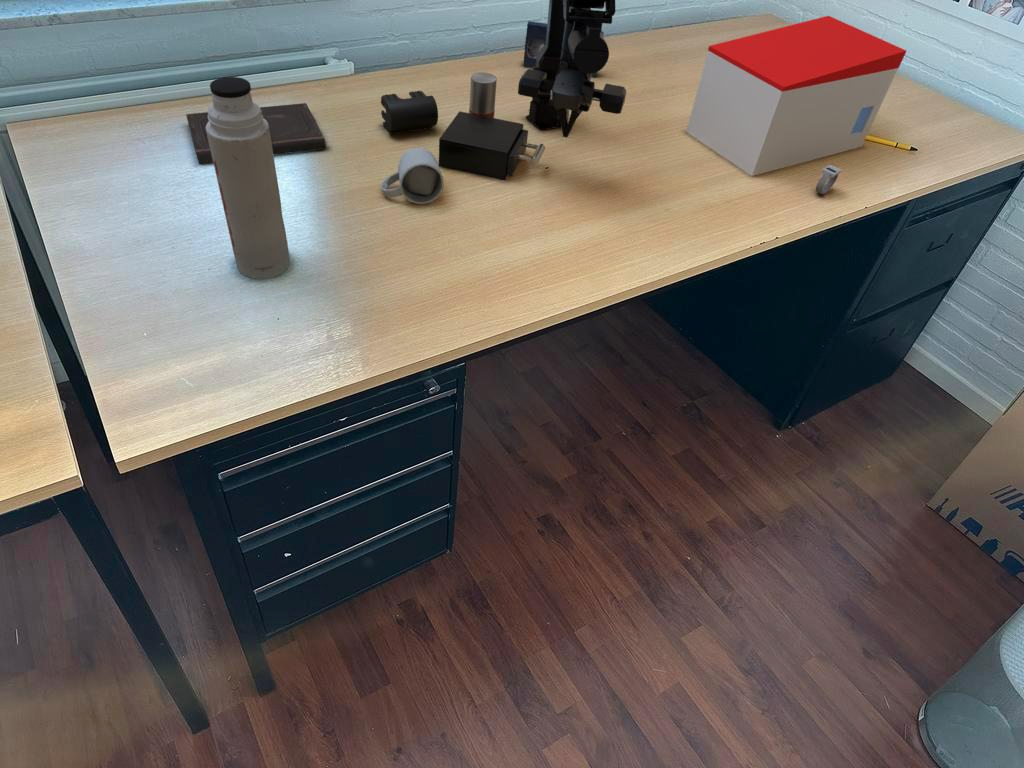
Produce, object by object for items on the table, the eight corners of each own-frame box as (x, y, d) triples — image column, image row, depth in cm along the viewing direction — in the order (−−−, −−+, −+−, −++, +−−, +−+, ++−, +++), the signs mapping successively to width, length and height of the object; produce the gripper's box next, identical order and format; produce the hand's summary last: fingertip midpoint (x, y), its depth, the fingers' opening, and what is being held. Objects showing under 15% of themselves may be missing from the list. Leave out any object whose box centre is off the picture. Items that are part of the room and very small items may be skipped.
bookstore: (862, 146, 160) (907, 50, 145) (751, 176, 145) (789, 72, 130) (794, 107, 172) (829, 15, 157) (685, 131, 157) (712, 32, 142)
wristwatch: (823, 184, 145) (833, 162, 142) (835, 190, 144) (845, 167, 141) (808, 194, 142) (818, 171, 139) (820, 199, 141) (831, 177, 137)
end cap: (391, 140, 142) (390, 107, 137) (379, 125, 146) (378, 92, 142) (438, 134, 146) (438, 101, 141) (425, 119, 150) (425, 87, 145)
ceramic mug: (437, 180, 133) (437, 141, 127) (443, 203, 127) (444, 164, 122) (379, 183, 131) (377, 143, 125) (384, 206, 125) (381, 166, 120)
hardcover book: (188, 125, 139) (185, 113, 138) (307, 113, 147) (306, 102, 145) (199, 165, 129) (196, 153, 128) (326, 150, 137) (324, 138, 136)
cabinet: (520, 151, 144) (523, 123, 140) (504, 180, 135) (507, 152, 131) (458, 138, 145) (459, 111, 141) (438, 166, 137) (439, 138, 133)
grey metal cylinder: (485, 117, 153) (488, 70, 146) (498, 128, 150) (501, 81, 143) (464, 121, 151) (466, 74, 144) (476, 132, 148) (478, 84, 141)
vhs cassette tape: (522, 66, 175) (526, 23, 168) (524, 62, 177) (528, 19, 170) (596, 78, 174) (603, 35, 167) (597, 73, 176) (604, 31, 169)
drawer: (546, 154, 142) (549, 134, 139) (533, 181, 134) (536, 161, 131) (467, 137, 144) (468, 118, 141) (450, 163, 136) (450, 143, 133)
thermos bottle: (231, 278, 107) (189, 94, 88) (241, 247, 113) (203, 68, 93) (286, 279, 108) (256, 98, 89) (293, 249, 114) (266, 72, 94)
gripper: (514, 56, 117) (506, 145, 128) (625, 77, 115) (608, 166, 126) (529, 34, 125) (521, 120, 136) (634, 53, 123) (617, 139, 134)
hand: (565, 136), depth 133 cm, fingers closed
